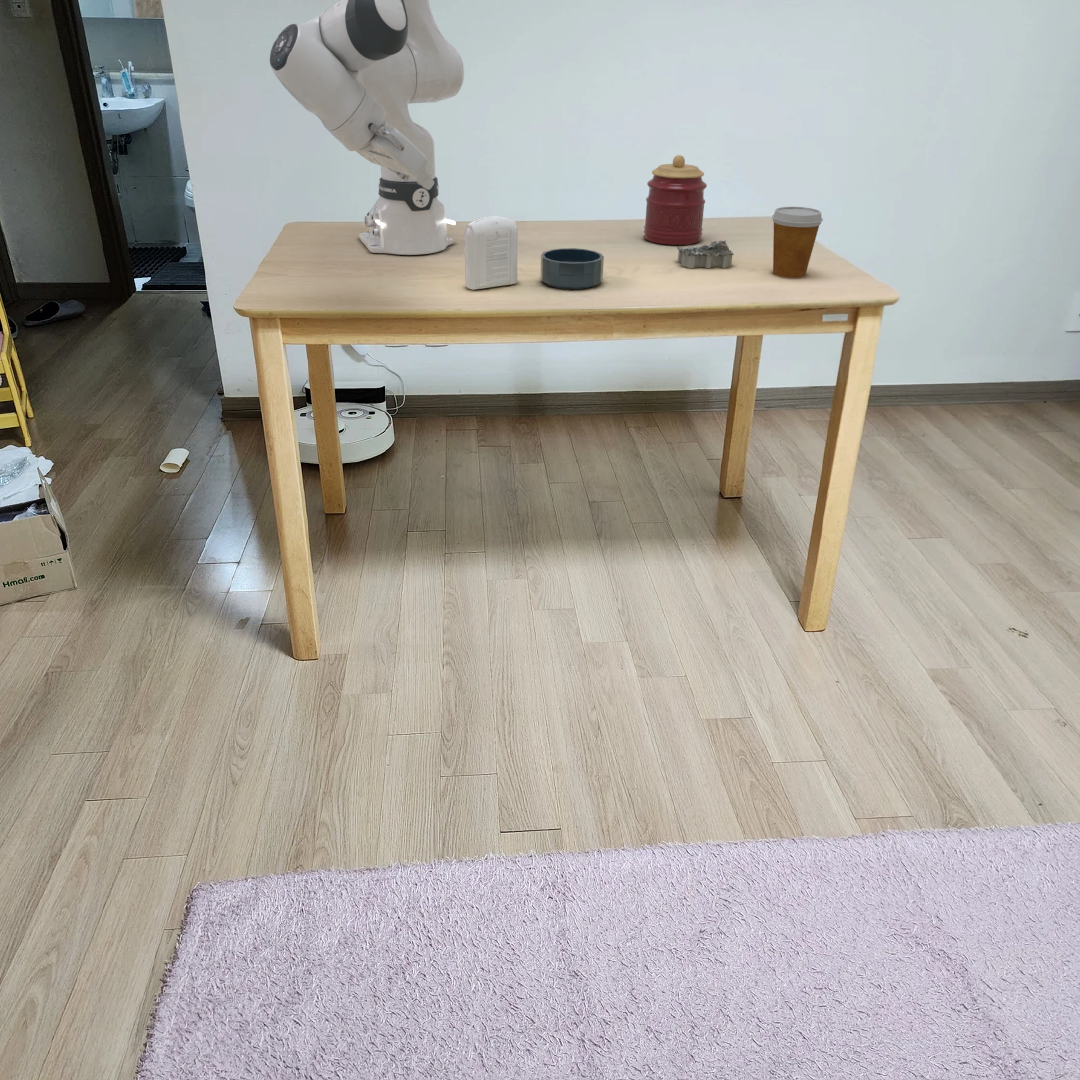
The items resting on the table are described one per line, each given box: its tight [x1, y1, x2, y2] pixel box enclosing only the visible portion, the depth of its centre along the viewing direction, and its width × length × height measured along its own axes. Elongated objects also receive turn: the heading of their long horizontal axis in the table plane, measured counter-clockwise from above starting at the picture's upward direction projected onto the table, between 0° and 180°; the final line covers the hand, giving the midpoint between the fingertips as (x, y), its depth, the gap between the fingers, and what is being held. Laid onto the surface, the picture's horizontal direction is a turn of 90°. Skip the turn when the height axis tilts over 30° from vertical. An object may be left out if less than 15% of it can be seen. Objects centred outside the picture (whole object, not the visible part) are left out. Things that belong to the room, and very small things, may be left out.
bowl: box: [540, 247, 605, 290], centre depth 176 cm, size 12×12×5 cm
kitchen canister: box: [643, 154, 708, 246], centre depth 206 cm, size 13×13×18 cm
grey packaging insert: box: [676, 240, 735, 269], centre depth 190 cm, size 11×8×4 cm
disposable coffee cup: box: [771, 206, 824, 279], centre depth 182 cm, size 10×10×12 cm
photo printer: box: [464, 215, 518, 291], centre depth 172 cm, size 10×4×12 cm, turn 123°
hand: (418, 181), depth 159 cm, fingers open, 8 cm apart
